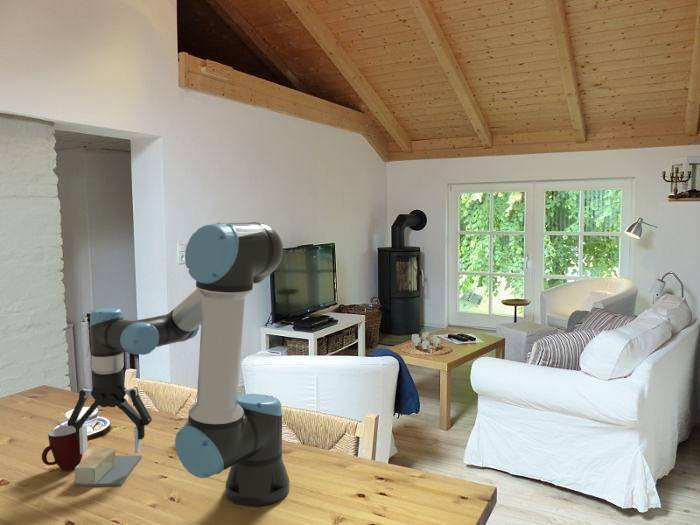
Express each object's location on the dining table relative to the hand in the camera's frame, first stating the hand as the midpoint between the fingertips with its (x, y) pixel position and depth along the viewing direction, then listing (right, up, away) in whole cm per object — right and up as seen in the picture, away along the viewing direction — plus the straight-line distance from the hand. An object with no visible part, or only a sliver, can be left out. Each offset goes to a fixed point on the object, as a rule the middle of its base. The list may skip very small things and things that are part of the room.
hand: (111, 451), depth 148 cm
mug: (-12, -5, +2) cm, 13 cm away
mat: (-1, -5, +1) cm, 5 cm away
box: (-3, -2, +3) cm, 5 cm away
